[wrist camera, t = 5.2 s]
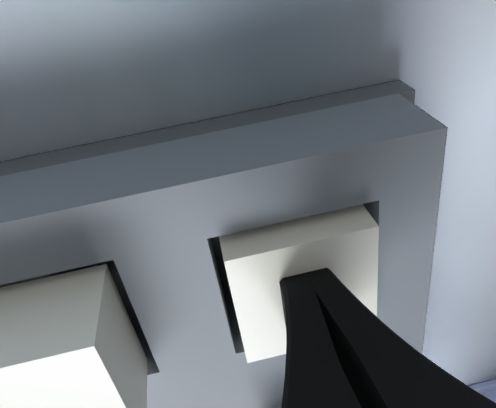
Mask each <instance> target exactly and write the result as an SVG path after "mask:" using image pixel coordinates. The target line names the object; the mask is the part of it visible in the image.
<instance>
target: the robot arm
mask: <svg viewBox="0 0 496 408" xmlns="http://www.w3.org/2000/svg"><path fill="white" fill-rule="evenodd" d="M279 284H280V291H281V298H282V305H283V312H284V318H285V325H286V364H285V379H284V389H283V398H282V406H281V408H496V379H495V380H491V381H487V382H483V383H479V384H475V385H471V386H467V385H465V384H464V383H462V382H461V381H459V380H458V379H456V378H455V377H453V376H452V375H450V374H449V373H447V372H446V371H445V370H443V369H442V368H440V367H439V366H437V365H436V364H435V363H433V362H432V361H430V360H429V359H428V358H426V357H425V356H424V355H422V354H421V353H420V352H418V351H417V350H416V349H415V348H413V347H412V346H411V345H409V344H408V343H407V342H406V341H405V340H403V339H402V338H401V337H400V336H398V335H397V334H396V333H395V332H394V331H392V330H391V329H390V328H389V327H388V326H387V325H385V324H384V323H383V322H382V321H381V320H380V319H379V318H378V317H377V316H376V315H374V314H373V313H372V312H371V311H370V310H369V309H368V308H367V307H366V306H365V305H364V304H363V303H362V302H361V301H360V300H359V299H358V298H357V297H356V296H355V295H354V294H353V293H352V292H351V291H350V290H349V289H348V288H347V287H346V286H345V285H344V284H343V283H342V282H341V281H340V280H339V279H338V278H337V277H336V275H335V274H334V273H333V272H332V271H331V270H330V269H328V268H323V269H319V270H314V271H310V272H306V273H302V274H297V275H293V276H289V277H284V278H282V279H281V280H280V282H279Z"/></svg>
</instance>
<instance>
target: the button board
mask: <svg viewBox="0 0 496 408" xmlns="http://www.w3.org/2000/svg"><path fill="white" fill-rule="evenodd" d="M414 98H415V90H414V89H413V88H411V87H410V86H408V85H406V84H405V83H403V82H402V81H400V80H397V81H392V82H387V83H383V84H378V85H373V86H368V87H363V88H358V89H353V90H349V91H344V92H339V93H334V94H329V95H324V96H319V97H315V98H310V99H305V100H300V101H295V102H290V103H285V104H281V105H276V106H271V107H266V108H261V109H256V110H251V111H247V112H242V113H237V114H232V115H227V116H222V117H218V118H213V119H208V120H203V121H198V122H193V123H188V124H184V125H179V126H174V127H169V128H164V129H159V130H154V131H150V132H145V133H140V134H135V135H130V136H125V137H120V138H116V139H111V140H106V141H101V142H96V143H91V144H86V145H82V146H77V147H72V148H67V149H62V150H57V151H52V152H48V153H43V154H38V155H33V156H28V157H23V158H18V159H14V160H9V161H4V162H0V288H1V287H5V286H10V285H14V284H18V283H23V282H27V281H32V280H36V279H41V278H45V277H50V276H54V275H59V274H63V273H68V272H72V271H76V270H81V269H85V268H90V267H94V266H99V265H103V264H107V266H108V269H109V271H110V273H111V276H112V278H113V280H114V283H115V285H116V287H117V290H118V292H119V294H120V297H121V299H122V301H123V304H124V306H125V308H126V311H127V313H128V315H129V318H130V320H131V322H132V325H133V327H134V329H135V332H136V334H137V336H138V339H139V341H140V343H141V346H142V348H143V350H144V353H145V355H146V358H147V360H148V372H147V408H280V407H281V406H282V398H283V389H284V379H285V364H286V354H283V355H279V356H275V357H271V358H267V359H263V360H259V361H255V362H250V363H247V359H246V355H245V351H244V346H243V342H242V338H241V333H240V329H239V325H238V321H237V316H236V312H235V308H234V303H233V299H232V295H231V290H230V286H229V282H228V277H227V273H226V269H225V264H224V260H223V255H222V250H221V245H220V240H219V236H222V235H226V234H231V233H235V232H240V231H244V230H249V229H253V228H258V227H262V226H267V225H271V224H275V223H280V222H284V221H289V220H293V219H298V218H302V217H307V216H311V215H316V214H320V213H325V212H329V211H334V210H338V209H342V208H347V207H351V206H356V205H360V204H363V205H364V207H365V208H366V210H367V211H368V212H369V214H370V215H371V216H372V218H373V219H374V220H375V222H376V223H377V224H378V226H379V246H378V289H377V317H378V318H379V319H380V320H381V321H382V322H383V323H384V324H385V325H387V326H388V327H389V328H390V329H391V330H392V331H394V332H395V333H396V334H397V335H398V336H400V337H401V338H402V339H403V340H405V341H406V342H407V343H408V344H409V345H411V346H412V347H413V348H415V349H416V350H417V351H418V352H420V353H421V354H422V349H423V340H424V331H425V322H426V314H427V305H428V296H429V287H430V278H431V269H432V260H433V252H434V243H435V234H436V225H437V216H438V207H439V198H440V190H441V181H442V172H443V163H444V154H445V145H446V136H447V128H448V127H446V126H445V125H443V124H442V123H441V122H439V121H438V120H436V119H435V118H433V117H432V116H430V115H429V114H428V113H426V112H425V111H423V110H422V109H420V108H419V107H418V106H416V105H415V104H414Z"/></svg>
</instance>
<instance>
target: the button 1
mask: <svg viewBox="0 0 496 408" xmlns="http://www.w3.org/2000/svg"><path fill="white" fill-rule="evenodd" d="M147 372H148V360H147V358H146V355H145V353H144V350H143V348H142V346H141V343H140V341H139V339H138V336H137V334H136V332H135V329H134V327H133V325H132V322H131V320H130V318H129V315H128V313H127V311H126V308H125V306H124V304H123V301H122V299H121V297H120V294H119V292H118V290H117V287H116V285H115V283H114V280H113V278H112V276H111V273H110V271H109V269H108V266H107V264H103V265H99V266H94V267H90V268H85V269H81V270H76V271H72V272H68V273H63V274H59V275H54V276H50V277H45V278H41V279H36V280H32V281H27V282H23V283H18V284H14V285H10V286H5V287H1V288H0V408H147Z"/></svg>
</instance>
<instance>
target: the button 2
mask: <svg viewBox="0 0 496 408" xmlns="http://www.w3.org/2000/svg"><path fill="white" fill-rule="evenodd" d="M219 240H220V245H221V250H222V255H223V260H224V264H225V269H226V273H227V277H228V282H229V286H230V290H231V295H232V299H233V303H234V308H235V312H236V316H237V321H238V325H239V329H240V333H241V338H242V342H243V346H244V351H245V355H246V359H247V363H250V362H255V361H259V360H263V359H267V358H271V357H275V356H279V355H283V354H286V325H285V318H284V312H283V305H282V298H281V291H280V284H279V282H280V280H281V279H282V278H284V277H289V276H293V275H297V274H302V273H306V272H310V271H314V270H319V269H323V268H328V269H330V270H331V271H332V272H333V273H334V274H335V275H336V277H337V278H338V279H339V280H340V281H341V282H342V283H343V284H344V285H345V286H346V287H347V288H348V289H349V290H350V291H351V292H352V293H353V294H354V295H355V296H356V297H357V298H358V299H359V300H360V301H361V302H362V303H363V304H364V305H365V306H366V307H367V308H368V309H369V310H370V311H371V312H372V313H373V314H374V315H376V316H377V289H378V246H379V226H378V224H377V223H376V222H375V220H374V219H373V218H372V216H371V215H370V214H369V212H368V211H367V210H366V208H365V207H364V205H363V204H360V205H356V206H351V207H347V208H342V209H338V210H334V211H329V212H325V213H320V214H316V215H311V216H307V217H302V218H298V219H293V220H289V221H284V222H280V223H275V224H271V225H267V226H262V227H258V228H253V229H249V230H244V231H240V232H235V233H231V234H226V235H222V236H219Z"/></svg>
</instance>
